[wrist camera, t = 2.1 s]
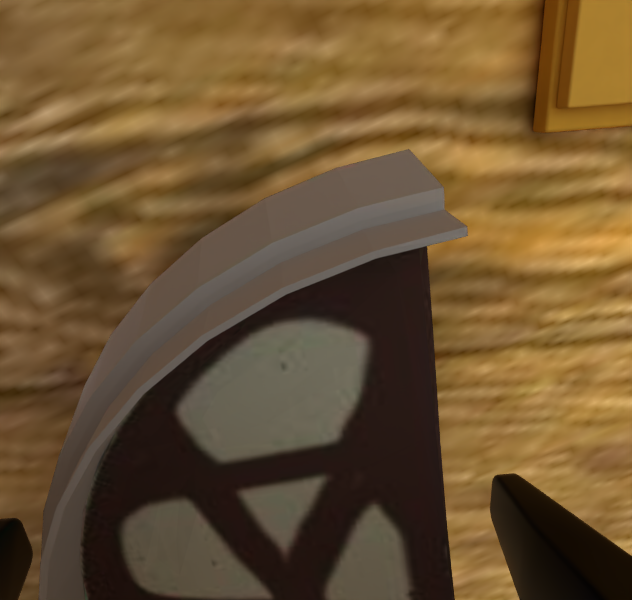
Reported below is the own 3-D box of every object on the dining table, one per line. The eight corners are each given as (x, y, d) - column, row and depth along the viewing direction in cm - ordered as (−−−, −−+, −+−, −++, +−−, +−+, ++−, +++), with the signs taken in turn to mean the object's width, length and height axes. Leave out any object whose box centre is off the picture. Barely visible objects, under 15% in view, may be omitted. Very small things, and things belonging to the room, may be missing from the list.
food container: (133, 167, 13) (-258, 279, 4) (344, 133, 13) (466, 164, 4) (227, 494, 18) (152, 910, 8) (385, 471, 18) (487, 865, 8)
